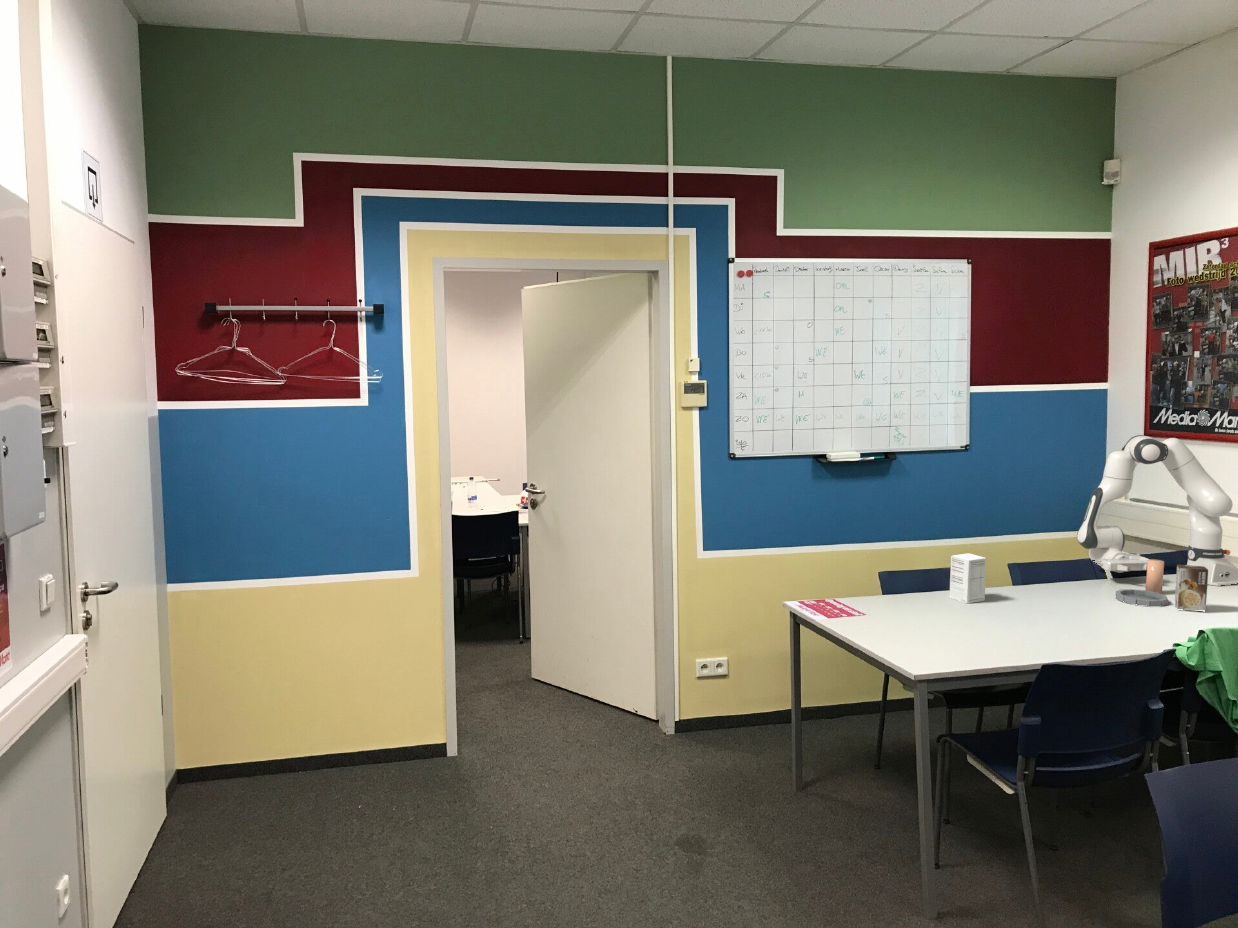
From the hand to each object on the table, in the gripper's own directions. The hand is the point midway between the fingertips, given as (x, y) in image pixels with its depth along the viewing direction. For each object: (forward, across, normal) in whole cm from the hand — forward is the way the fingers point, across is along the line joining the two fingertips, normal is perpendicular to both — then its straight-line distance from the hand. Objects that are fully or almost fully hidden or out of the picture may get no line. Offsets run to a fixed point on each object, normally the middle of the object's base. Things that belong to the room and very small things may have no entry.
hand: (1139, 569), depth 370 cm
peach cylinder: (+9, 0, +8) cm, 12 cm away
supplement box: (+14, -78, +8) cm, 80 cm away
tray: (+19, -12, +8) cm, 24 cm away
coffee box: (+32, -2, +8) cm, 33 cm away
